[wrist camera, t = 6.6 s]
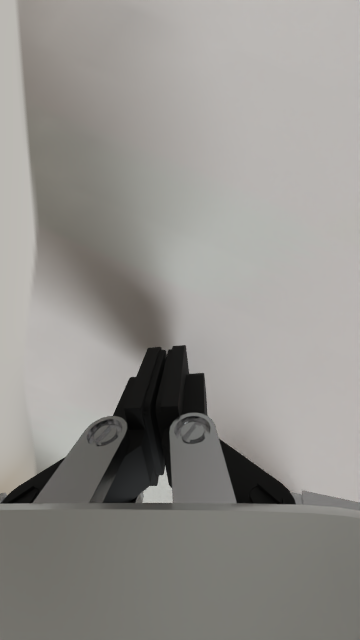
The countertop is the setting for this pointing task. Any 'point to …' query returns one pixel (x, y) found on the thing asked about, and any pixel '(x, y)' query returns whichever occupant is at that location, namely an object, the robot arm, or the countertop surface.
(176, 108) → the countertop surface
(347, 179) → the countertop surface
